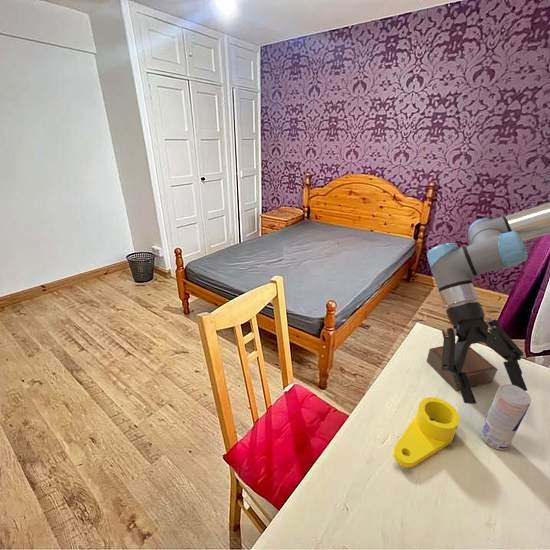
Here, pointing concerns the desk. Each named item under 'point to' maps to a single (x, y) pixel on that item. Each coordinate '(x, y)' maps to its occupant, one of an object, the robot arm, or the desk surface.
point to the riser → (464, 367)
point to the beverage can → (505, 416)
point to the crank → (427, 432)
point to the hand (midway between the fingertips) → (496, 396)
